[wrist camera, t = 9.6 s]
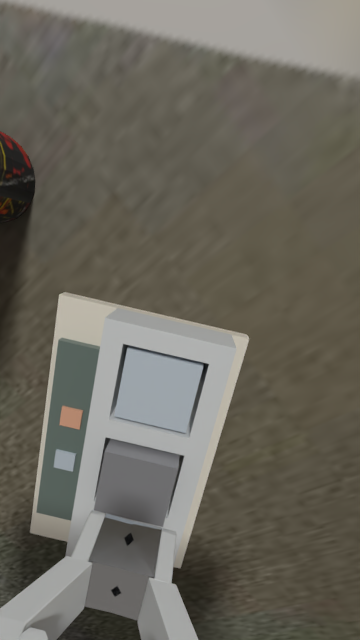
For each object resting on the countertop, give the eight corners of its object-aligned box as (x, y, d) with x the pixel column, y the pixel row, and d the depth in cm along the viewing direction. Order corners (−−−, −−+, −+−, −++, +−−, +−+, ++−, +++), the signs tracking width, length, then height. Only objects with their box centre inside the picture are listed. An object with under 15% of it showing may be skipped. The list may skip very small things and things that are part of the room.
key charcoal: (180, 445, 22) (178, 468, 20) (166, 499, 24) (162, 527, 21) (114, 429, 22) (104, 451, 20) (104, 484, 24) (93, 510, 21)
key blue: (202, 353, 22) (203, 366, 19) (187, 413, 23) (185, 433, 20) (134, 337, 22) (127, 348, 19) (122, 398, 23) (114, 416, 20)
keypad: (247, 334, 23) (257, 353, 19) (181, 557, 28) (178, 607, 24) (65, 292, 23) (37, 302, 19) (35, 523, 28) (9, 567, 24)
